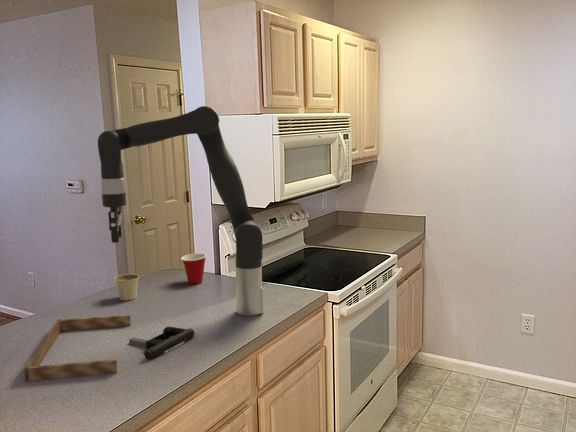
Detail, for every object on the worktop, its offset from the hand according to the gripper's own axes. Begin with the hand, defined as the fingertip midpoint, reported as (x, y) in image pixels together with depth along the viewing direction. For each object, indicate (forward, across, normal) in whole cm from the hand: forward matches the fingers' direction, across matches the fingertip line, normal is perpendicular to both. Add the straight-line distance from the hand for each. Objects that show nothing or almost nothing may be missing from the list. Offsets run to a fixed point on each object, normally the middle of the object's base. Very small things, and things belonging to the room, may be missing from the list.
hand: (116, 239), depth 171 cm
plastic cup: (+29, +41, -26) cm, 57 cm away
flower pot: (+29, +26, 0) cm, 39 cm away
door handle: (+30, -22, -13) cm, 39 cm away
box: (+29, -21, +8) cm, 37 cm away
